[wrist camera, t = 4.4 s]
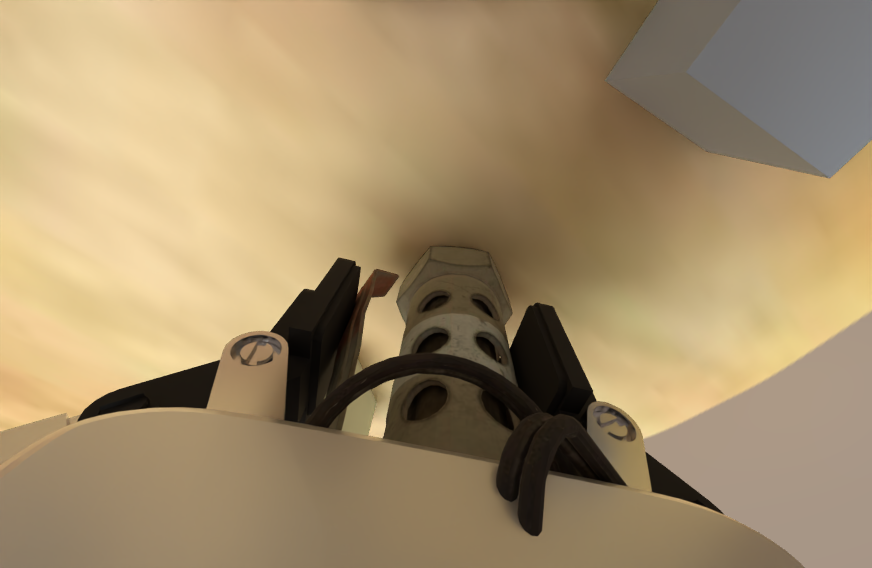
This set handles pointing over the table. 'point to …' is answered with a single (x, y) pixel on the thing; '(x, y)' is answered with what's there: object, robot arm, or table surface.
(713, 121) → the slate blue cube
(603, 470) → the grenade model
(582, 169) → the table surface
